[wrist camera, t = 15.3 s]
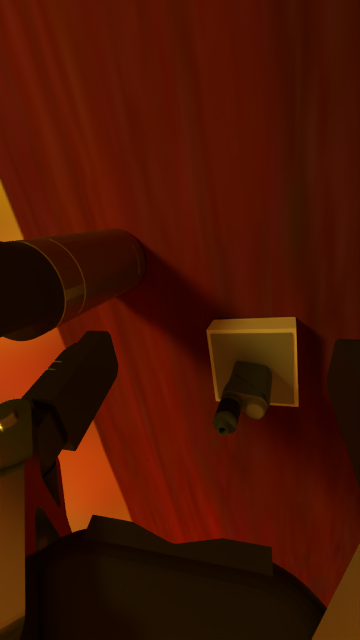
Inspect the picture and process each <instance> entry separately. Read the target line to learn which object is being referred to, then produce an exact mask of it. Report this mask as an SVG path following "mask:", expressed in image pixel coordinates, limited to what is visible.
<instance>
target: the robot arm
mask: <svg viewBox="0 0 360 640" xmlns="http://www.w3.org/2000/svg"><path fill="white" fill-rule="evenodd" d="M145 265H146V263H145V256H144V252H143V250H142V248H141V246H140V244H139V242H138V241H137V240H136V239H135V238H134V237H133V236H132V235H131V234H129V233H128V232H126V231H124V230H120V229H107V230H98V231H89V232H81V233H73V234H65V235H57V236H48V237H40V238H33V239H25V240H18V241H8V242H1V241H0V337H5V338H8V339H11V340H16V341H27V340H32V339H34V338H37V337H39V336H41V335H43V334H45V333H47V332H48V331H51V330H52V329H54V328H56V327H58V326H60V325H62V324H64V323H66V322H68V321H70V320H72V319H73V318H75V317H77V316H79V315H81V314H83V313H85V312H87V311H89V310H91V309H93V308H95V307H97V306H99V305H101V304H103V303H104V302H106V301H108V300H110V299H112V298H114V297H116V296H118V295H120V294H122V293H124V292H126V291H128V290H130V289H132V288H133V287H135V286H136V285H137V284H138V283H139V282H140V281H141V279H142V278H143V275H144V272H145ZM117 373H118V362H117V358H116V354H115V350H114V346H113V343H112V339H111V335H110V334H109V332H107V331H87V332H86V333H85V334H84V335H83V337H82V338H81V339H80V340H79V341H78V342H77V343H74V344H73V345H71V346H70V347H68V348H67V349H65V350H64V351H63V352H62V353H61V354H60V355H59V356H58V357H57V358H56V359H55V362H53V363H52V364H51V365H50V367H49V368H48V370H46V371H45V372H44V373H43V374H42V376H40V378H39V379H38V380H37V381H36V382H35V383H34V385H33V386H32V387H31V388H30V389H29V390H28V391H27V392H26V394H25V395H24V396H23V397H22V398H21V399H12V400H8V401H5V402H3V403H1V404H0V640H360V544H359V546H358V548H357V550H356V552H355V554H354V556H353V558H352V560H351V562H350V564H349V566H348V568H347V570H346V572H345V574H344V576H343V578H342V580H341V582H340V584H339V586H338V588H337V590H336V592H335V594H334V596H333V598H332V600H331V602H330V604H329V606H328V608H326V607H325V606H324V604H323V603H322V602H321V601H320V599H319V598H318V597H317V596H316V595H315V594H314V593H313V592H312V591H311V590H310V589H309V588H308V587H307V586H306V585H305V584H303V583H302V582H301V581H300V580H299V579H297V578H296V577H295V576H294V575H292V574H291V573H289V572H288V571H286V570H285V569H283V568H282V567H280V566H278V565H276V564H274V563H273V562H272V549H271V547H268V546H262V545H257V544H251V543H246V542H240V541H235V540H229V539H224V538H221V539H213V540H205V541H197V542H188V543H180V544H174V543H170V542H168V541H166V540H164V539H163V538H161V537H159V536H157V535H155V534H154V533H152V532H150V531H148V530H146V529H144V528H143V527H141V526H139V525H137V524H135V523H133V522H130V521H125V520H119V519H114V518H108V517H103V516H97V515H92V518H91V520H90V523H89V525H88V527H87V529H83V530H79V531H76V532H73V533H72V531H71V528H70V526H69V522H68V519H67V515H66V509H65V502H64V493H63V485H62V477H61V469H60V462H59V459H58V455H59V454H60V452H61V450H62V449H63V450H70V451H76V449H77V448H78V446H79V444H80V442H81V440H82V438H83V437H84V435H85V433H86V431H87V429H88V428H89V426H90V424H91V422H92V420H93V419H94V417H95V415H96V413H97V411H98V410H99V408H100V406H101V404H102V402H103V401H104V399H105V397H106V395H107V393H108V392H109V390H110V388H111V386H112V384H113V383H114V381H115V379H116V377H117ZM327 387H328V393H329V396H330V399H331V403H332V406H333V409H334V412H335V415H336V418H337V421H338V424H339V427H340V430H341V433H342V436H343V439H344V442H345V445H346V448H347V451H348V455H349V458H350V461H351V464H352V467H353V470H354V473H355V476H356V479H357V482H358V485H359V488H360V340H352V339H337V340H336V342H335V344H334V349H333V353H332V358H331V362H330V367H329V371H328V377H327Z"/></svg>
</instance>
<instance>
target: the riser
mask: <svg viewBox="0 0 360 640" xmlns="http://www.w3.org/2000/svg"><path fill="white" fill-rule="evenodd" d="M207 338H208V345H209V353H210V360H211V367H212V375H213V382H214V389H215V397H216V401H220V400H221V395H222V392H223V389H224V387H225V385H226V384H227V383H228V381H229V379H230V377H231V374H232V371H233V368H234V365H235V362H236V361H243V362H249V363H255V364H261V365H265V366H267V367H268V368H269V369H270V371H271V373H272V387H271V397H270V405H279V406H292V407H299V403H298V371H297V338H296V317H282V318H252V319H222V320H213V321H212V323H211V324H210V326H209V327H208V329H207Z"/></svg>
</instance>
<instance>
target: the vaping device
mask: <svg viewBox="0 0 360 640" xmlns="http://www.w3.org/2000/svg"><path fill="white" fill-rule="evenodd" d="M271 387H272V373H271V371H270V369H269V368H268V367H267V366H265V365H261V364H255V363H249V362H243V361H236V362H235V365H234V368H233V371H232V374H231V377H230V379H229V381H228V383H227V384H226V385H225V387H224V389H223V392H222V395H221V400H220V403H219V405H218V408H217V411H216V415H215V417H214V420H213V424H214V427H215V428H216V429H217V431H218V433H219V434H221V435H227V434H231V433H233V432H235V430H236V428H237V424H238V420H239V415H240V412H244V413H246V415H247V416H248V417H250V418H251V419H255V420H257V419H261V418H262V417H263V416H264V413H265V412H266V411H267V409H268V408H269V405H270V397H271Z"/></svg>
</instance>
